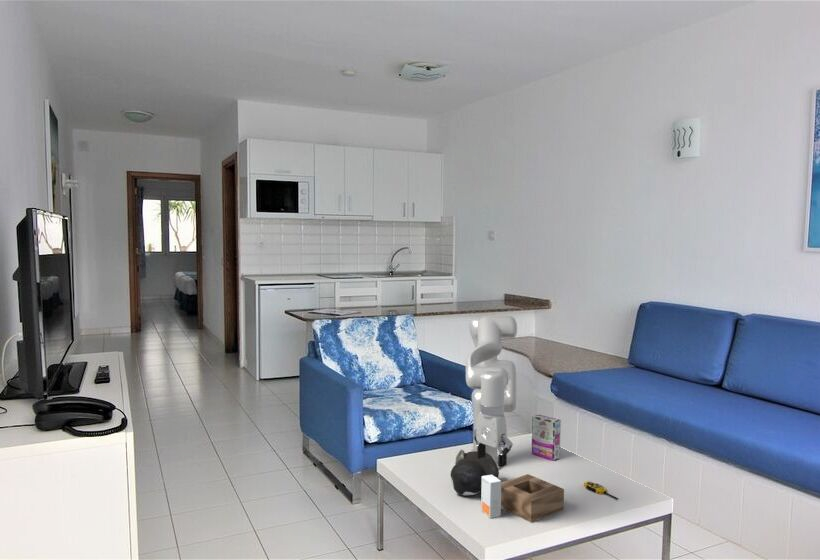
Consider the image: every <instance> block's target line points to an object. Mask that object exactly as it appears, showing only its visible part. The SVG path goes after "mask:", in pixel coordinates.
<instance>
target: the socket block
mask: <svg viewBox="0 0 820 560" xmlns="http://www.w3.org/2000/svg"><path fill="white" fill-rule="evenodd" d="M564 498H565V488H563V487H560V486H557V485H555V484H554V483H551V482H549V481H546V480H544V479H541V478H539V477H536V476H534V475H531V474H529V473H527V474H524V475H521V476H518V477H514V478H511V479H509V480H506V481H502V483H501V509H503V510H505V511H507V512H509V513H510V514H513V515H516V516H518V517H519V518H521V519H523V520H525V521H527V522H529V523H533V522H536V521H538V520H541V519H543V518H545V517H548V516H550V515H553V514H555V513H558V512H560V511H563V510H564V508H565V506H564V505H565V503H564V502H565V501H564V500H565V499H564Z"/></svg>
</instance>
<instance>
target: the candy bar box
mask: <svg viewBox="0 0 820 560" xmlns="http://www.w3.org/2000/svg"><path fill="white" fill-rule="evenodd" d="M531 421H532V422H531V428H532V429H531V455H532V456H536V457H539V458H543V459H545V460H549V461H553V462H554V461H557V460H559V459H560V458H561V421H562V420H561V419H558V418H555V417H550V416H546V415H542V414H535V415H533V416H532V417H531Z"/></svg>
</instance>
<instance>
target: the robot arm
mask: <svg viewBox="0 0 820 560" xmlns="http://www.w3.org/2000/svg"><path fill="white" fill-rule="evenodd" d="M468 324H469V325H468V328H469V332H470V333H469V334H470V337H471V339H472V342H473V344H474V348H473V349H472V350H471V352H470V353H469V355H468V356H467V358H466V360H465V382H466V383H465V384H466V385H467V386H468V388H470V389H472V390H473V391H472V392H471V403H472V404H471V406H472V412H473V413H472V414H473V430H472V435H473V440H472V441H473V442H472V444H473V445H472V446H473V447H472V448H473V449H470V451H469V452H473V451H477V458H483V457H485V453H488V454H489V455H491V456H492V458H493V460H494V461H495V463H496V465H497V467H498V470H500V469H501V468H503V467H505V466H507V464H508V463H507V462H508V461H507V458H508V457H507V455H508V454H509V452H510V451H511V450H512V447H513V442H512V440H510V439H509V438H508V435H507V433H508V432H507V431H508V430H507V420H506V416H505V413H512V412H514V411H515V410H516V407H517V369H516V365H515V363H514V361H512V360H508V359H498V356H499V355H501V353H502V350H503V345H502V340H513V339H515V338H516V336H517V334H518V324H517V320H516V318H515V317H513V316H512V315H493V314H491V315H484V316H475V317H472V318H471V319H470V320H469V323H468ZM498 452H499V454H498Z"/></svg>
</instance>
